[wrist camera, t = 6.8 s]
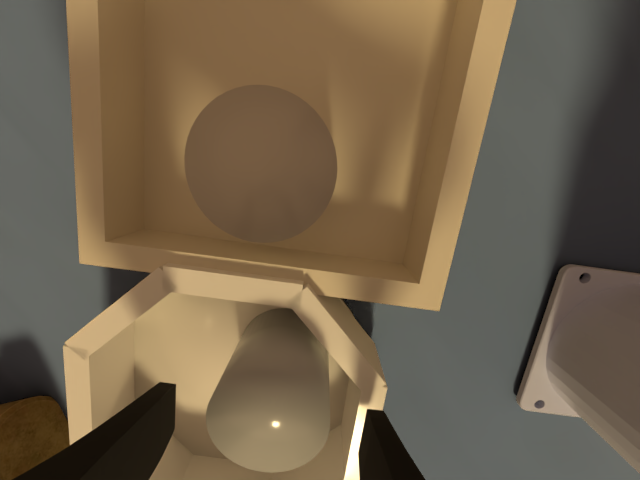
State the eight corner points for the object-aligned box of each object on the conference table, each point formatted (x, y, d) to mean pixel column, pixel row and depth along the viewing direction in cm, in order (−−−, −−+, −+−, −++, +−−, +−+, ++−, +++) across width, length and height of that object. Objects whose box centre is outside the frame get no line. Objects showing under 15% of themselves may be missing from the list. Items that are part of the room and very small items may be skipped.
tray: (497, -88, 11) (562, -185, 8) (415, 282, 15) (439, 311, 12) (127, -146, 11) (52, -266, 8) (130, 243, 14) (79, 263, 11)
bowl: (387, 268, 14) (406, 298, 11) (346, 477, 17) (351, 551, 14) (120, 232, 14) (56, 252, 11) (124, 449, 17) (75, 519, 14)
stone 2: (334, 314, 14) (338, 377, 10) (322, 391, 15) (321, 479, 11) (244, 302, 14) (208, 361, 10) (237, 380, 15) (203, 464, 11)
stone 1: (340, 122, 12) (348, 97, 8) (325, 225, 13) (325, 252, 9) (235, 108, 12) (186, 73, 8) (228, 212, 13) (181, 232, 9)
